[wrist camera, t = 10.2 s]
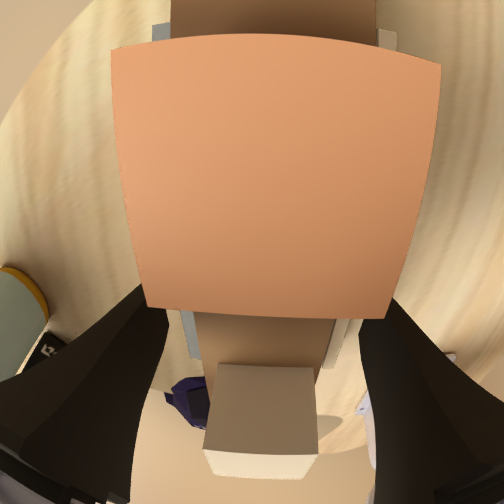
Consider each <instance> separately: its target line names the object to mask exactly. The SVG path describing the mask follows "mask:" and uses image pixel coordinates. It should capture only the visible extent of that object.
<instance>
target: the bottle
mask: <svg viewBox="0 0 504 504" xmlns="http://www.w3.org/2000/svg"><path fill="white" fill-rule="evenodd" d="M48 319H49V314H48V307H47V303H46V300H45V298H44V296H43V294H42V293H41V291H40V290H39V288H38V287H37V285H36V284H35V283H34V282H33V281H32V280H31V279H30V278H29V277H28V276H27V275H25V274H24V273H23V272H21V271H19V270H17V269H15V268H8V267H2V268H0V382H1V381H4V380H6V379H9V378H11V377H13V376H15V374H16V373H17V371H18V369H19V368H20V366H21V364H22V363H23V361H24V359H25V358H26V356H27V354H28V353H29V351H30V349H31V348H32V346H33V345H34V343H35V342H36V340H37V338H38V337H39V335H40V334H41V332H42V331H43V329H44V328H45V326H46V324H47V323H48Z"/></svg>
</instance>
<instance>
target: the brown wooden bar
mask: <svg viewBox="0 0 504 504" xmlns="http://www.w3.org/2000/svg"><path fill="white" fill-rule="evenodd" d="M219 34H283V35H298V36H310V37H319V38H328V39H335V40H342V41H348V42H354V43H360V44H365V45H370V46H375V47H376V0H171V19H170V39H174V38H183V37H192V36H203V35H219ZM193 315H194V321H195V327H196V332H197V338H198V344H199V349H200V354H201V360H202V365H203V370H204V375H205V380H206V385H207V390H208V394H209V399H210V404H211V398H212V392H213V387H214V381H215V376H216V370H217V365H218V363H220V364H233V365H248V366H268V367H313V370H314V383H315V384H316V380H317V377H318V374H319V371H320V368H321V365H322V361H323V358H324V355H325V351H326V348H327V345H328V341H329V338H330V334H331V331H332V327H333V323H334V320H335V319H327V318H291V317H268V316H249V315H234V314H220V313H207V312H195V311H193Z"/></svg>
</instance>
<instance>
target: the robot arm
mask: <svg viewBox="0 0 504 504" xmlns="http://www.w3.org/2000/svg"><path fill="white" fill-rule="evenodd" d="M168 329H169V321H168V317H167V313H166V309H164V308H154V307H148V306H147V302H146V298H145V294H144V291H143V287H142V283H141V284H140V285H139V286H138V287H136V288H135V289H134V290H133V291H132V292H131V293H130V294H128V295H127V296H126V297H125V298H124V299H123V300H122V301H121V302H119V303H118V304H117V305H116V306H115V307H114V308H113V309H112V310H110V311H109V312H108V313H107V314H106V315H105V316H104V317H102V318H101V319H100V320H99V321H98V322H96V323H95V324H94V325H93V326H91V327H90V328H89V329H88V330H87V331H85V332H84V333H83V334H82V335H80V336H79V337H78V338H76V339H75V340H74V341H72V342H71V343H70V344H68V345H67V346H65V347H64V348H62V349H61V350H60V351H58V352H57V353H55V354H53V355H52V356H50V357H48V358H47V359H45V360H43V361H42V362H40V363H38V364H37V365H35V366H33V367H31V368H30V369H28V370H26V371H24V372H22V373H20V374H17V375H15V376H13V377H11V378H9V379H6V380H4V381H1V382H0V504H95V502H97V503H100V504H106V502H107V501H109V502H112V503H114V504H127V503H129V502H130V487H131V473H132V464H133V456H134V449H135V443H136V437H137V432H138V427H139V422H140V417H141V413H142V409H143V406H144V402H145V399H146V396H147V393H148V390H149V388H150V385H151V382H152V380H153V377H154V374H155V372H156V369H157V366H158V364H159V361H160V358H161V355H162V353H163V350H164V346H165V342H166V338H167V333H168ZM358 336H359V345H360V354H361V361H362V366H363V370H364V375H365V379H366V384H367V388H368V389H367V391H366V393H365V395H364V396H363V398H362V400H361V401H360V403H359V405H358V406H357V408H356V410H355V415H364V421H365V428H366V435H367V443H368V451H369V459H370V462H371V465H372V466H373V468H374V469H375V471H376V478H375V484H374V486H373V487H372V489H371V491H370V492H369V494H368V496H367V499H366V504H504V402H502V401H501V400H499V399H498V398H496V397H495V396H493V395H492V394H490V393H489V392H488V391H486V390H485V389H484V388H482V387H481V386H480V385H478V384H477V383H476V382H475V381H473V380H472V379H471V378H470V377H469V376H467V375H466V374H465V373H464V372H463V371H462V370H461V369H460V368H458V367H457V366H456V365H455V364H454V361H455V360H456V355H455V354H446V355H445V354H444V353H443V352H442V351H441V350H440V349H439V348H438V347H437V346H436V345H435V344H434V343H433V342H432V341H431V340H430V339H429V338H428V336H427V335H426V334H425V333H424V332H423V331H422V330H421V329H420V328H419V326H418V325H417V324H416V323H415V322H414V321H413V320H412V319H411V317H410V316H409V315H408V314H407V313H406V312H405V311H404V309H403V308H402V307H401V306H400V305H399V304H398V303H397V302H396V301H395V300H394V298H393V297H392V299H391V302H390V304H389V307H388V310H387V312H386V315H385V317H384V319H364V320H363V323H362V326H361V328H360V331H359V334H358Z"/></svg>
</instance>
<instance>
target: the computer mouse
mask: <svg viewBox="0 0 504 504" xmlns="http://www.w3.org/2000/svg"><path fill="white" fill-rule="evenodd" d="M171 390H172V391H173V393H174V394H171V393H166V392H164V395H165V399H166V402H167V403H168V404H170V405H172V406H174V407H175V408H176V409H177V410H178V411H179V412H180V413H181V414H182V415H183V417H184V418H185V419H186V420H187V421H188V423H190V424H191V425H192V426H193V427H197V428H200V429H203V430H206V426H207V421H208V415H209V409H210V399H209V394H208V390H207V385H206V380H205V376H203V377H189V378H184V379H183V380H181V381H179V382H178V383H177V384H176V385H175V386H173V387H172V388H171Z"/></svg>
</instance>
